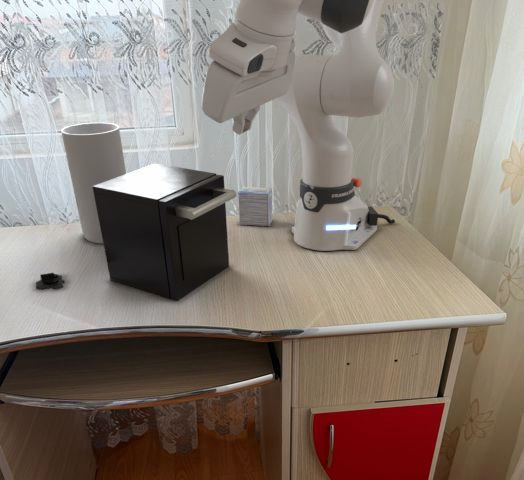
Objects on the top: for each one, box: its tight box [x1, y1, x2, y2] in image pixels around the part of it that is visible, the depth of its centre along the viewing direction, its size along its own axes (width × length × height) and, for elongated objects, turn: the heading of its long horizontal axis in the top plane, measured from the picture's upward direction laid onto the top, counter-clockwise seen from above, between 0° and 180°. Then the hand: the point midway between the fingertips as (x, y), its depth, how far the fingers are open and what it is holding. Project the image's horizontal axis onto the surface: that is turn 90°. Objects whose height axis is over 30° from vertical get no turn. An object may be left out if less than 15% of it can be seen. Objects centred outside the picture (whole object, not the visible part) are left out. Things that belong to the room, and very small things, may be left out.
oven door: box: [158, 174, 237, 302], centre depth 105 cm, size 6×18×20 cm, turn 149°
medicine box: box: [237, 186, 273, 227], centre depth 137 cm, size 8×4×9 cm, turn 77°
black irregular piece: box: [35, 272, 65, 291], centre depth 111 cm, size 6×2×6 cm
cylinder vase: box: [60, 122, 127, 244], centre depth 127 cm, size 12×12×25 cm
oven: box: [92, 163, 218, 300], centre depth 110 cm, size 16×18×20 cm
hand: (241, 130), depth 90 cm, fingers closed
